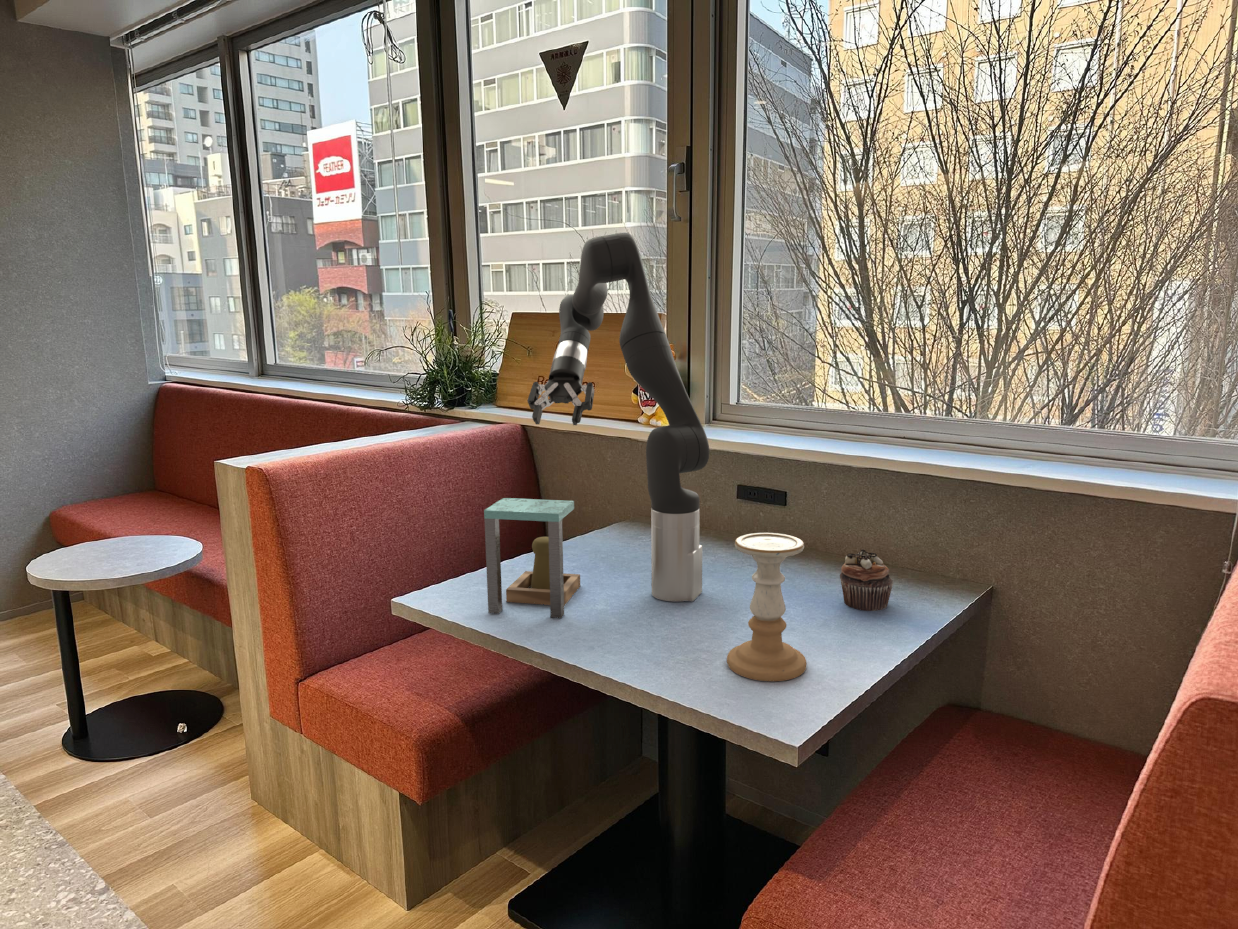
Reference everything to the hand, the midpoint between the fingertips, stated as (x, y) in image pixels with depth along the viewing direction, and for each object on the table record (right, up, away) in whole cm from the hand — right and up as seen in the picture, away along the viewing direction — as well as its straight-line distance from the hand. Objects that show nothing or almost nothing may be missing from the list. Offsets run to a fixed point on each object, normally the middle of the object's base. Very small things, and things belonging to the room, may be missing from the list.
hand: (555, 422), depth 184 cm
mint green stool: (-2, -36, -24) cm, 43 cm away
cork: (-1, -34, -16) cm, 38 cm away
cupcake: (+60, -35, -24) cm, 74 cm away
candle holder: (+37, -41, -50) cm, 75 cm away
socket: (-1, -34, -17) cm, 38 cm away
